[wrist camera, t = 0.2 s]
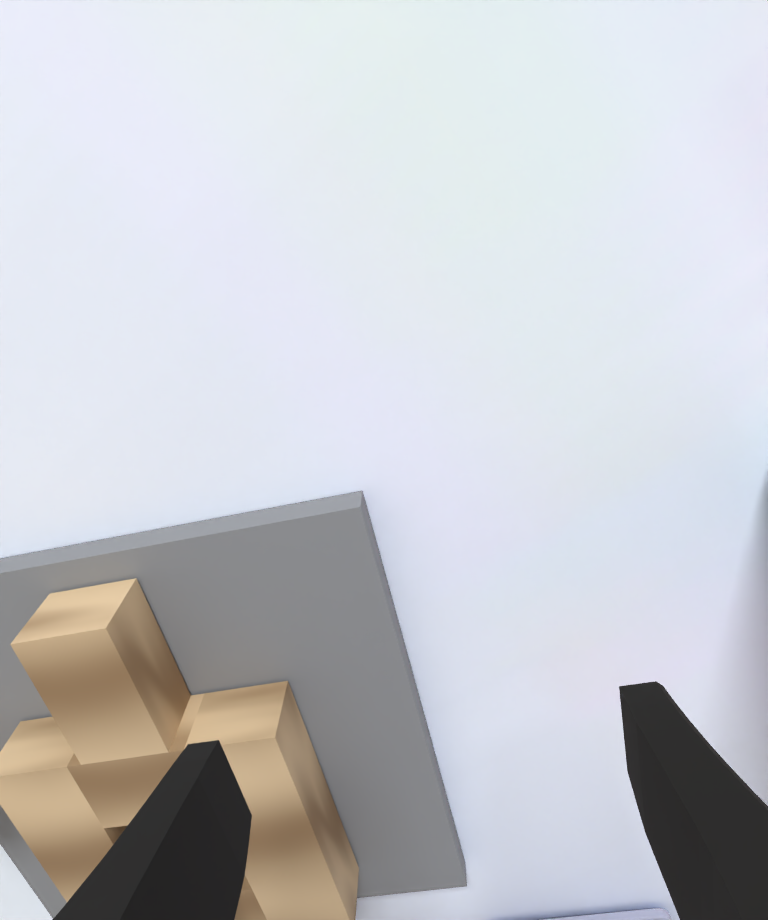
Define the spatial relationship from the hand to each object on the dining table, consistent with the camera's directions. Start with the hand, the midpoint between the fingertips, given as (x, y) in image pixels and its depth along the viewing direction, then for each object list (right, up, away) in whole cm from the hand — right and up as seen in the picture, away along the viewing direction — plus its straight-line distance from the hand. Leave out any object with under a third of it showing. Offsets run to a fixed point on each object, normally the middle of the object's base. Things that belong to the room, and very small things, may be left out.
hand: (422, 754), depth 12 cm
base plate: (-8, -5, +14) cm, 17 cm away
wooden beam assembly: (-8, -5, +13) cm, 16 cm away
